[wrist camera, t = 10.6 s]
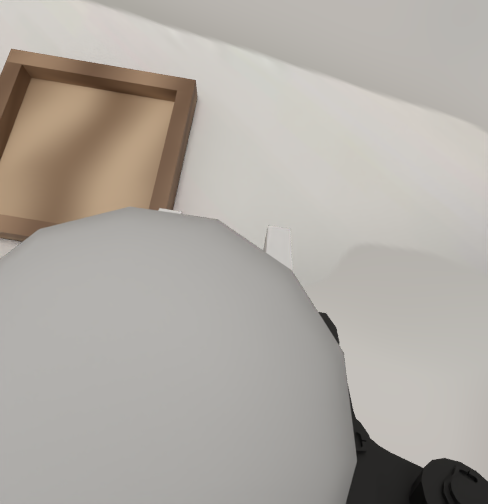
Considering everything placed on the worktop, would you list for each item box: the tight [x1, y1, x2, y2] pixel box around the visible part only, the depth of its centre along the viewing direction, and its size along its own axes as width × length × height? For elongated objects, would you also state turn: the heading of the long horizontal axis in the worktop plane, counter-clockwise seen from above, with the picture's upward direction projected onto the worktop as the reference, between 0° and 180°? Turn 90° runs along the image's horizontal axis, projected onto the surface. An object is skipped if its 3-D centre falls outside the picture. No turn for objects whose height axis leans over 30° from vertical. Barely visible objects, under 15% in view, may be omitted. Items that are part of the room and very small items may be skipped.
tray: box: [0, 49, 197, 242], centre depth 23 cm, size 12×12×2 cm
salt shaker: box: [0, 207, 357, 504], centre depth 9 cm, size 6×6×13 cm
